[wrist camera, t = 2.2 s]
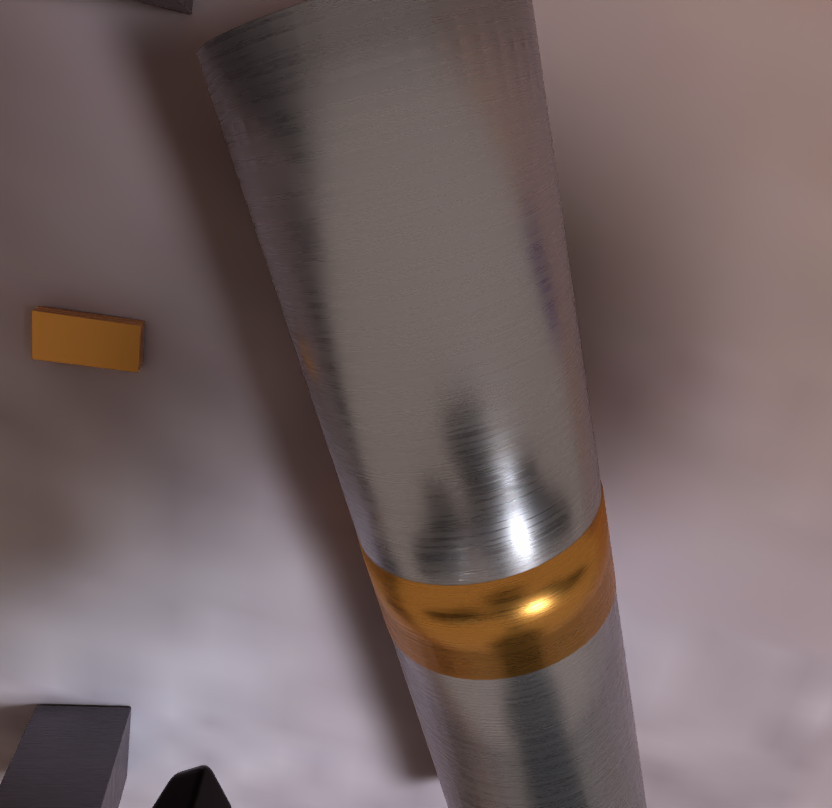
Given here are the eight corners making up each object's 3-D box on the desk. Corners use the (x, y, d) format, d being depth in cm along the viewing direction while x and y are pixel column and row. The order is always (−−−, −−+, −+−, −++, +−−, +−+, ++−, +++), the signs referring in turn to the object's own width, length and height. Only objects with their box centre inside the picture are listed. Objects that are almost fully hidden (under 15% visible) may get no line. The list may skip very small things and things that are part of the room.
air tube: (609, 734, 16) (689, 913, 13) (451, 776, 16) (485, 969, 13) (488, -1, 10) (579, -72, 6) (223, 69, 10) (155, 38, 6)
